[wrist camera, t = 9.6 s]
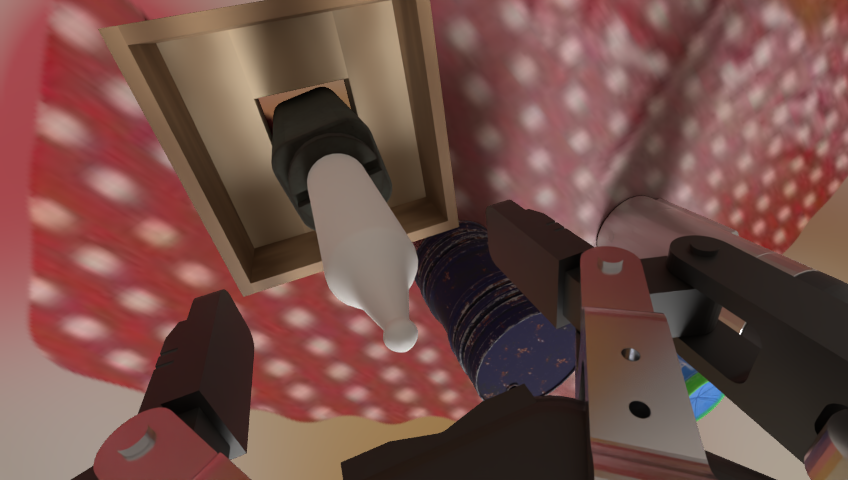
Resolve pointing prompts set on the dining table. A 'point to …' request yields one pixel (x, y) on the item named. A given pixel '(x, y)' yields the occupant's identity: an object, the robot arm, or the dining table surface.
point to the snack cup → (699, 390)
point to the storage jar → (490, 317)
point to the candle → (347, 208)
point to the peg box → (248, 129)
